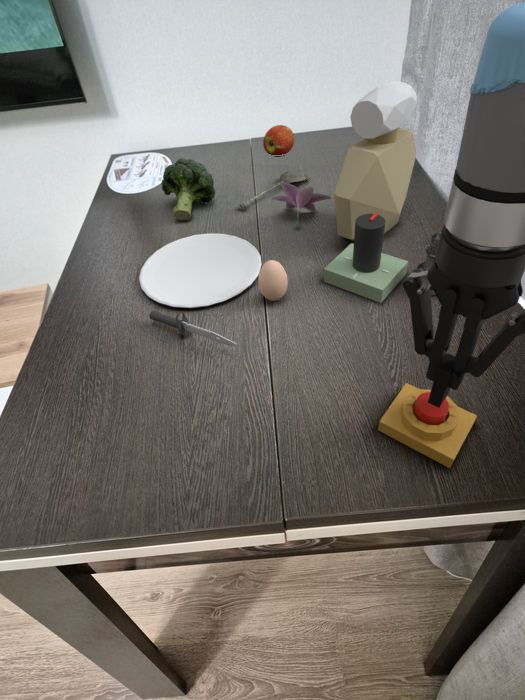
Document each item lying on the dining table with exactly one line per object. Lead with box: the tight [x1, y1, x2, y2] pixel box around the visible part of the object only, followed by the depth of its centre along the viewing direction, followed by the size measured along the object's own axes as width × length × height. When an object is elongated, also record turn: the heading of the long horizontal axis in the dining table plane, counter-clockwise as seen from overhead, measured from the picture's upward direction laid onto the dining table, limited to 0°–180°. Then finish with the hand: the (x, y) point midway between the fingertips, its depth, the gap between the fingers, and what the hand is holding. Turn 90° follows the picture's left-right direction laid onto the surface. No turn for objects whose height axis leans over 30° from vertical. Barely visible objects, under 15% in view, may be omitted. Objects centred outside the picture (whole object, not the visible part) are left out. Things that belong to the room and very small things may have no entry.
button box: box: [377, 382, 478, 469], centre depth 58 cm, size 10×8×4 cm
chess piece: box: [415, 226, 443, 296], centre depth 76 cm, size 6×6×12 cm
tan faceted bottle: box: [333, 80, 418, 242], centre depth 84 cm, size 12×24×28 cm, turn 137°
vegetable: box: [161, 157, 216, 222], centre depth 105 cm, size 12×13×15 cm
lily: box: [271, 181, 332, 229], centre depth 97 cm, size 12×12×10 cm
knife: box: [148, 310, 239, 346], centre depth 74 cm, size 19×2×5 cm, turn 58°
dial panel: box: [323, 242, 409, 304], centre depth 82 cm, size 12×10×3 cm
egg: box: [257, 259, 289, 302], centre depth 78 cm, size 5×5×8 cm
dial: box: [352, 213, 385, 273], centre depth 78 cm, size 5×5×9 cm
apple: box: [262, 124, 295, 158], centre depth 122 cm, size 8×8×8 cm
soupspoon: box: [238, 170, 308, 211], centre depth 109 cm, size 22×3×7 cm
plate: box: [138, 232, 263, 309], centre depth 89 cm, size 25×25×1 cm
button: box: [414, 392, 449, 425], centre depth 56 cm, size 4×4×2 cm
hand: (438, 397), depth 54 cm, fingers closed
